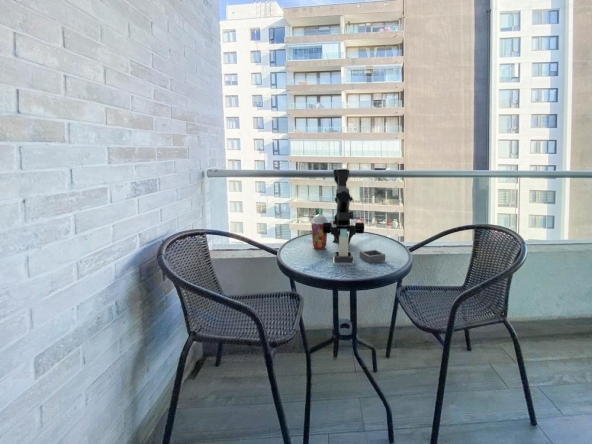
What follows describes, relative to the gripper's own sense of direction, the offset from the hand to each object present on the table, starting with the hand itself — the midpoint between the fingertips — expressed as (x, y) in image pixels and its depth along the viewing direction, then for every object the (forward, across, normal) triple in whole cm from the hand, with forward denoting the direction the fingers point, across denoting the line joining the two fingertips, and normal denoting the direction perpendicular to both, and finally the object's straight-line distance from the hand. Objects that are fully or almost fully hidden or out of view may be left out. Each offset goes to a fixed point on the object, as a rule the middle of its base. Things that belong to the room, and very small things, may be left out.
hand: (343, 243), depth 182 cm
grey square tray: (+2, +14, +10) cm, 17 cm away
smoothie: (-10, -11, +23) cm, 27 cm away
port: (+5, 0, +7) cm, 9 cm away
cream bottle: (+4, 0, +6) cm, 7 cm away
